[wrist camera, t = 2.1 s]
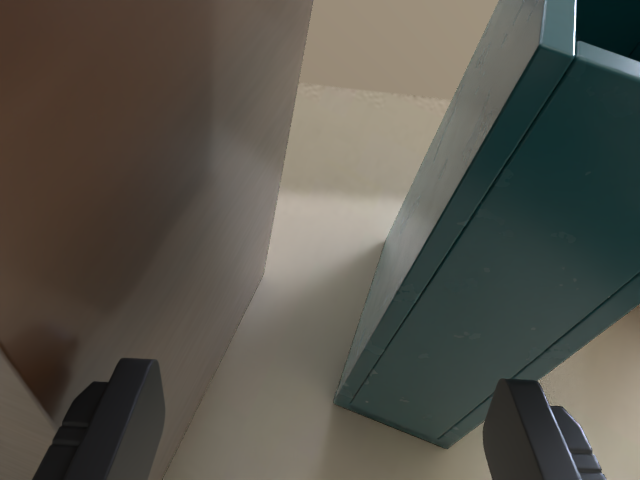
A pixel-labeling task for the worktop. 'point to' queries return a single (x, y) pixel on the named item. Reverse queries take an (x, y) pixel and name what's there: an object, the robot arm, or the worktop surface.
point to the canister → (509, 222)
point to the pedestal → (133, 196)
